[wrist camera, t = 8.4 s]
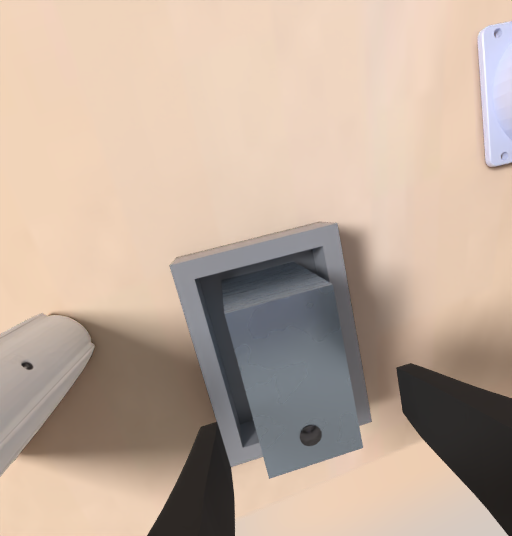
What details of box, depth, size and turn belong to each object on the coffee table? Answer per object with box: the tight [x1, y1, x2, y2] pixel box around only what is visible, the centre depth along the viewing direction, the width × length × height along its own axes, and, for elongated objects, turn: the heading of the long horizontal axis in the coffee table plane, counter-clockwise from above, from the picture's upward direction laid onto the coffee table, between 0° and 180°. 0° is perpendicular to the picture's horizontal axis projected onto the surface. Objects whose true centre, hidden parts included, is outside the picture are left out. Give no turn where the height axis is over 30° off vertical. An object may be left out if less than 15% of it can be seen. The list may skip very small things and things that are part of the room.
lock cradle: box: [169, 222, 372, 467], centre depth 18 cm, size 9×12×3 cm
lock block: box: [221, 261, 363, 479], centre depth 15 cm, size 4×8×6 cm, turn 13°
